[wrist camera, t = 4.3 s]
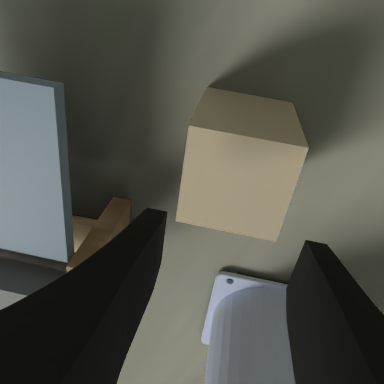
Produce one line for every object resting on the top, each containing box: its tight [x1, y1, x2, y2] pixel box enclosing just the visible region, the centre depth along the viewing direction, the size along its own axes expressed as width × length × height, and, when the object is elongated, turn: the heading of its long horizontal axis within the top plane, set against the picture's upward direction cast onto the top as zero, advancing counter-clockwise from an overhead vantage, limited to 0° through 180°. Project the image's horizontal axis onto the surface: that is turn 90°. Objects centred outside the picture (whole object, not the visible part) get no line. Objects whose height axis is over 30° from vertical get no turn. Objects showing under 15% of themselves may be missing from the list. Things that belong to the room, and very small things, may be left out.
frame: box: [0, 197, 131, 272], centre depth 21 cm, size 13×5×7 cm, turn 82°
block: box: [176, 87, 309, 242], centre depth 16 cm, size 4×4×6 cm
